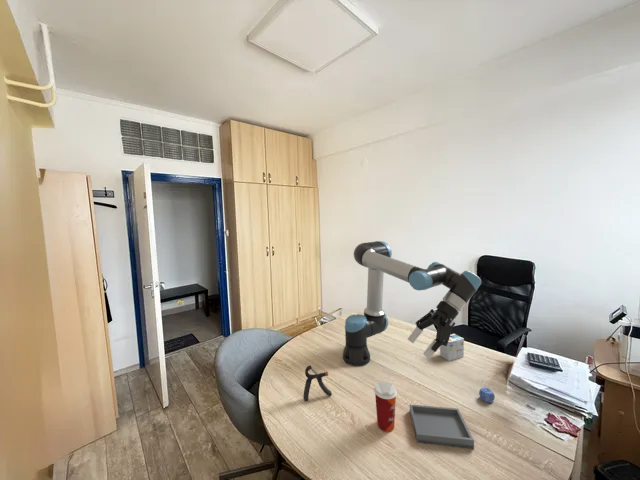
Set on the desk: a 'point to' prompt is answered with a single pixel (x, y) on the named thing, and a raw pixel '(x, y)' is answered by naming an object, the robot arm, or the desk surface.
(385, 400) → the coffee cup
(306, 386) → the hand grip strengthener
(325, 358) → the desk surface
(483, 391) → the decorative dice
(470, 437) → the tray
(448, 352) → the light bulb box
